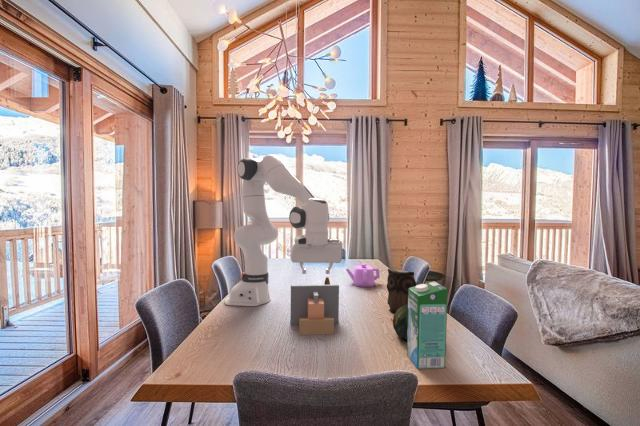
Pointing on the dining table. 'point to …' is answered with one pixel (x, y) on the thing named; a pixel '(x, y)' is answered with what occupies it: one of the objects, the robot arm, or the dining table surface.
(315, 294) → the tall peach box
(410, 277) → the owl
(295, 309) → the board
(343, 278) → the dining table surface
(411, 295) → the milk carton
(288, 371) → the dining table surface
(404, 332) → the squash
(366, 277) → the teakettle
